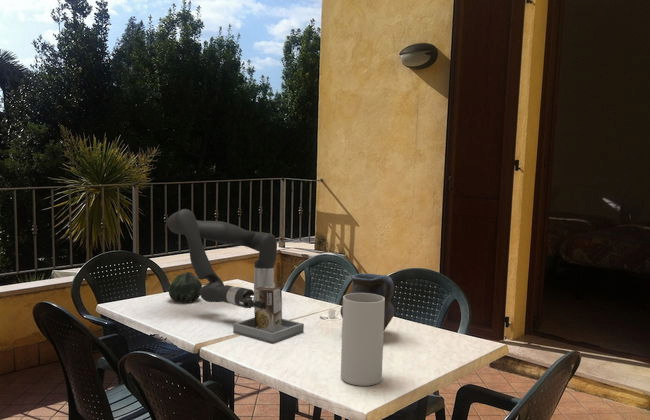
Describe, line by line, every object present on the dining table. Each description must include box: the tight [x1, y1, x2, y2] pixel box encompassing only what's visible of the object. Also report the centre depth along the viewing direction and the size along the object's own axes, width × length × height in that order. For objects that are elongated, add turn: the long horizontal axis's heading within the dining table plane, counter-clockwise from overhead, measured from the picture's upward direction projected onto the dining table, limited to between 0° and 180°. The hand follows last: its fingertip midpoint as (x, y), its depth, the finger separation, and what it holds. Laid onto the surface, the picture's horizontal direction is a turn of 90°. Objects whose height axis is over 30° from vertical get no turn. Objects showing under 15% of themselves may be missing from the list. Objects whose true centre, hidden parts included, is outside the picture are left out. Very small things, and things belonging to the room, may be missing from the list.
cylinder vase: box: [340, 293, 385, 387], centre depth 161 cm, size 12×12×25 cm
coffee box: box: [253, 286, 283, 332], centre depth 205 cm, size 9×6×16 cm
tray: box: [232, 317, 305, 345], centre depth 205 cm, size 18×20×4 cm
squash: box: [168, 271, 203, 304], centre depth 250 cm, size 14×15×15 cm
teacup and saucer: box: [319, 308, 342, 321], centre depth 229 cm, size 9×8×4 cm
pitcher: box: [340, 273, 396, 332], centre depth 203 cm, size 21×22×25 cm
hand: (271, 303), depth 204 cm, fingers open, 8 cm apart
